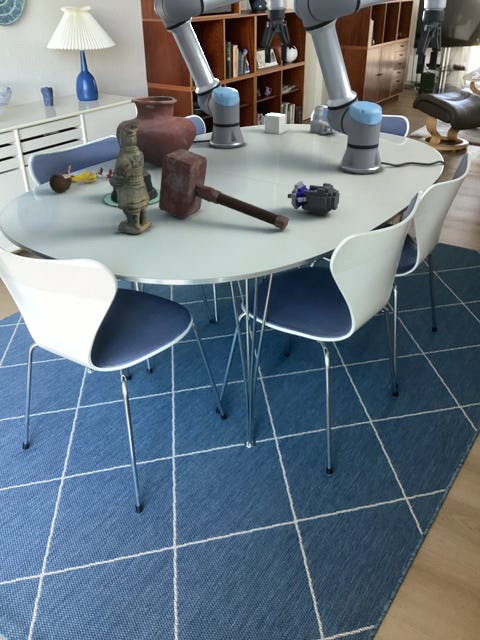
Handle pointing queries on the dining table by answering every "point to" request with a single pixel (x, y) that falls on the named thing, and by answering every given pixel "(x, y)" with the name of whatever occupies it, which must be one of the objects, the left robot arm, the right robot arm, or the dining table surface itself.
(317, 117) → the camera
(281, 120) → the brick
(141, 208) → the statue
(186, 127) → the clay pot
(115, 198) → the chocolate cake
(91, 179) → the figurine
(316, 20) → the right robot arm
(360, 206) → the dining table surface
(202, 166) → the sledgehammer
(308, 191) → the toy
